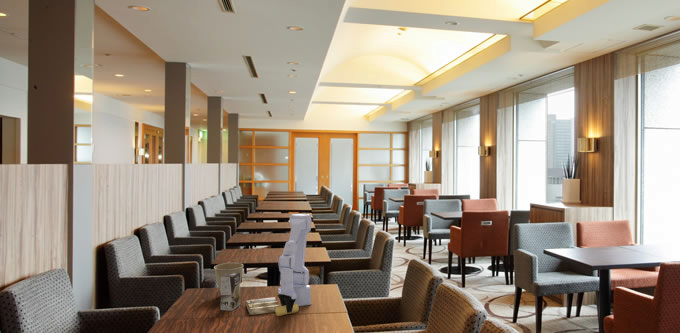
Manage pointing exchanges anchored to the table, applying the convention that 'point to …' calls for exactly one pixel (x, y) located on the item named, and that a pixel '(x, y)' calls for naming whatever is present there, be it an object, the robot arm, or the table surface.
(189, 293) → the table surface
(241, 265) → the plant pot
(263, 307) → the rack
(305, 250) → the robot arm
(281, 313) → the pale yellow cylinder
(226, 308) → the coffee box
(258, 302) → the tall white tube
